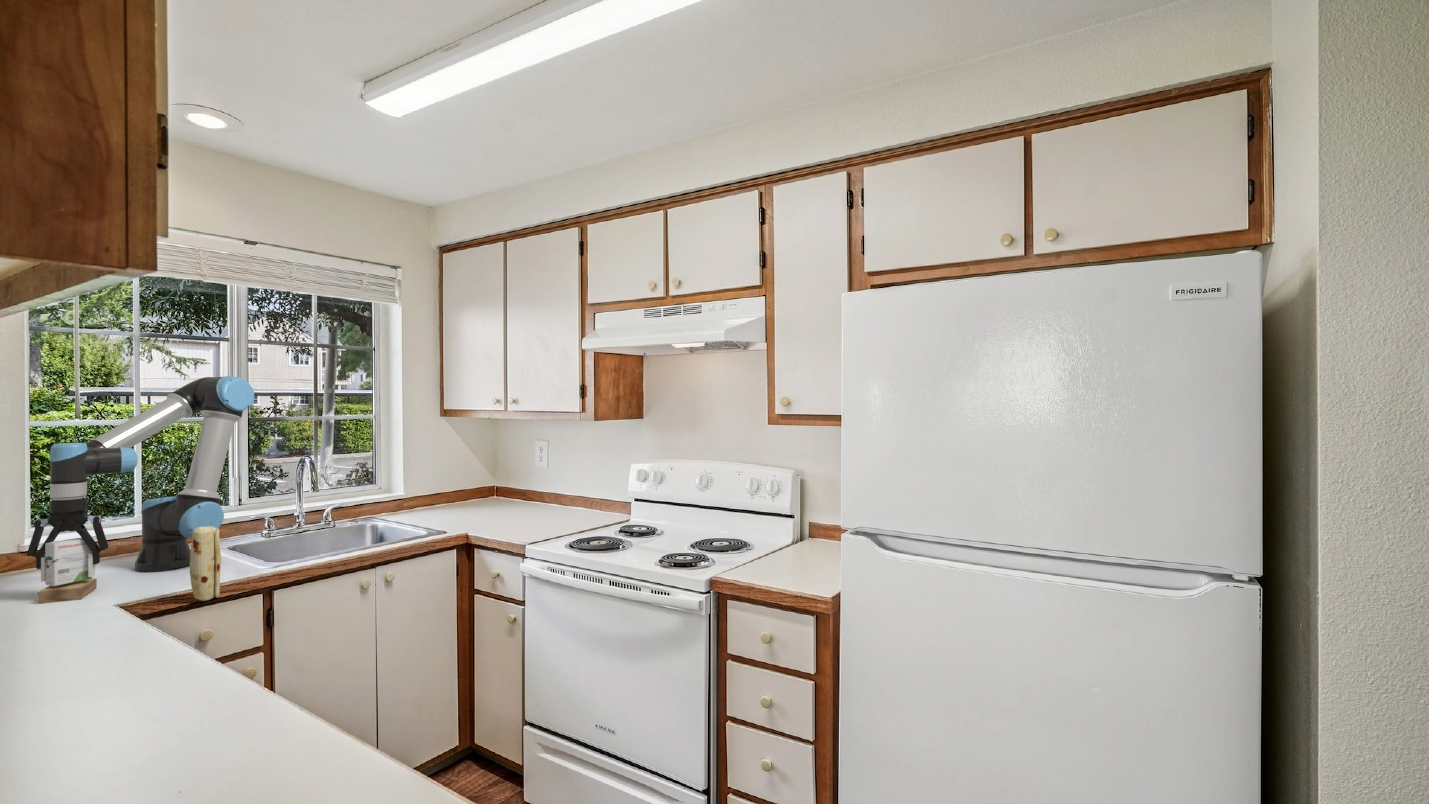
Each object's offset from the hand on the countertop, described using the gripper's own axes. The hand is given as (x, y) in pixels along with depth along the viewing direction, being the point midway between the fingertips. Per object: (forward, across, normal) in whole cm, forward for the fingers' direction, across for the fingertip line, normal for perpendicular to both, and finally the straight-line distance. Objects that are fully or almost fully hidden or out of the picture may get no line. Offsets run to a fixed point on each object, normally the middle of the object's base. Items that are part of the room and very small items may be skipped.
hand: (68, 578), depth 190 cm
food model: (+5, -35, +23) cm, 42 cm away
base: (+5, 0, 0) cm, 5 cm away
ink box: (+1, 0, 0) cm, 1 cm away
